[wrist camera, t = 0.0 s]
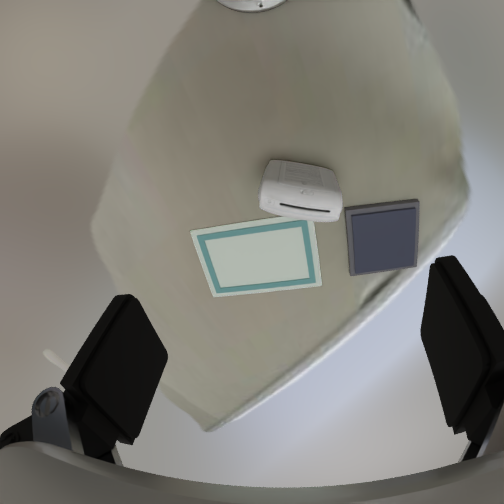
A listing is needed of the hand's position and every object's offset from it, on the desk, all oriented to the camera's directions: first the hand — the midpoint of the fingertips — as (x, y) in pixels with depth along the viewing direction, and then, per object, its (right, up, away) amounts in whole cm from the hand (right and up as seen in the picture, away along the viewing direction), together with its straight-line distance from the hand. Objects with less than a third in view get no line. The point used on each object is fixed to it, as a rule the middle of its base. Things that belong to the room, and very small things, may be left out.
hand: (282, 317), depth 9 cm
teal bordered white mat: (0, +1, +43) cm, 43 cm away
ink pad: (+20, +4, +38) cm, 43 cm away
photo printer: (+6, +13, +35) cm, 38 cm away
